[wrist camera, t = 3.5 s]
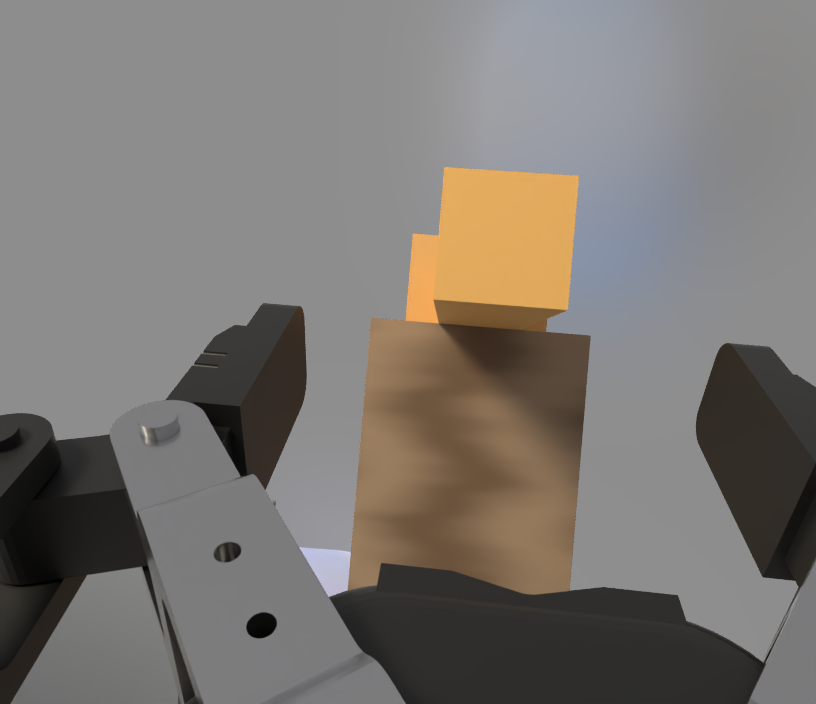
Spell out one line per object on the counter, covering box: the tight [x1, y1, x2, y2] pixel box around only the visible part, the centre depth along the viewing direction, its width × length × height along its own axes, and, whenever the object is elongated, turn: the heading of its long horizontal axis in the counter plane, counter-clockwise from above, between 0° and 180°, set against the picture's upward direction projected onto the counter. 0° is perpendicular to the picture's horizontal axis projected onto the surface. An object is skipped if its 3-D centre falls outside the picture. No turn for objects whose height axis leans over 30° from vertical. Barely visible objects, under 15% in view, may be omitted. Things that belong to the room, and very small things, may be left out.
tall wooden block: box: [348, 318, 590, 595], centre depth 29 cm, size 8×12×32 cm, turn 176°
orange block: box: [406, 167, 579, 332], centre depth 24 cm, size 6×19×4 cm, turn 176°
